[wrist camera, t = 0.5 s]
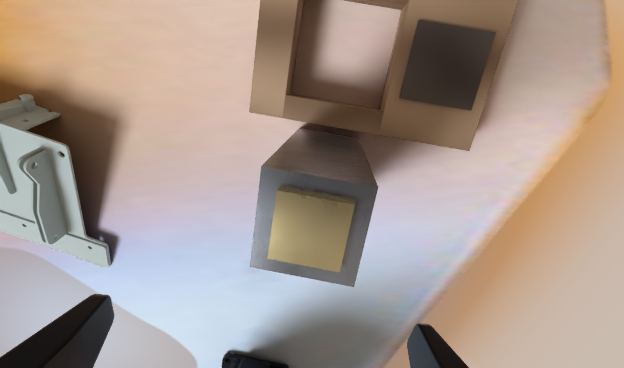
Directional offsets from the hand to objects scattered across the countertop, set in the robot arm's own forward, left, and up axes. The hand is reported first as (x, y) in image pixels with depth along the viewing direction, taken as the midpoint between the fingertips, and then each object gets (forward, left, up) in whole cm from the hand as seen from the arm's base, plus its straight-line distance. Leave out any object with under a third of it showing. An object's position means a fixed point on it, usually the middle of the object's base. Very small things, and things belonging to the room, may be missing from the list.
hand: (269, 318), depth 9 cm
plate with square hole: (+9, -3, -16) cm, 18 cm away
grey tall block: (+1, -1, -16) cm, 16 cm away
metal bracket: (-5, +23, -16) cm, 29 cm away
